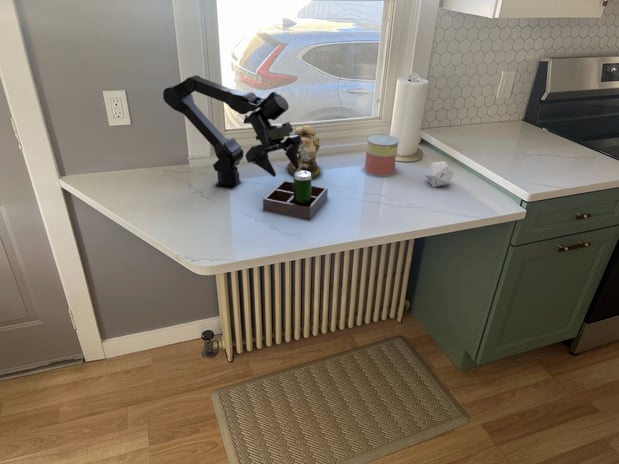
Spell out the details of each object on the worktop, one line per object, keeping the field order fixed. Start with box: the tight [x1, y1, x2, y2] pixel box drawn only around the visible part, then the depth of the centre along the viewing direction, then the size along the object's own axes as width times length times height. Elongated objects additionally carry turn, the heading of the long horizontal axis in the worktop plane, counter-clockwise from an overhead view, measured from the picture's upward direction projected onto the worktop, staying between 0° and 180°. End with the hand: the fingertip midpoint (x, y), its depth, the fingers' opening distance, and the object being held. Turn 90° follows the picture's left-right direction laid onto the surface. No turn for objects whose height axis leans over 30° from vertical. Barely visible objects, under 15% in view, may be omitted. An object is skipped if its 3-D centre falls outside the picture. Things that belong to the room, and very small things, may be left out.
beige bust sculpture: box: [286, 124, 321, 180], centre depth 168 cm, size 18×12×17 cm, turn 18°
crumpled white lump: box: [424, 160, 455, 188], centre depth 162 cm, size 8×9×10 cm
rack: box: [262, 179, 329, 221], centre depth 147 cm, size 16×16×4 cm
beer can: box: [293, 171, 313, 207], centre depth 141 cm, size 5×5×12 cm
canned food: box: [364, 134, 400, 177], centre depth 171 cm, size 11×11×12 cm
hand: (286, 172), depth 143 cm, fingers open, 9 cm apart
